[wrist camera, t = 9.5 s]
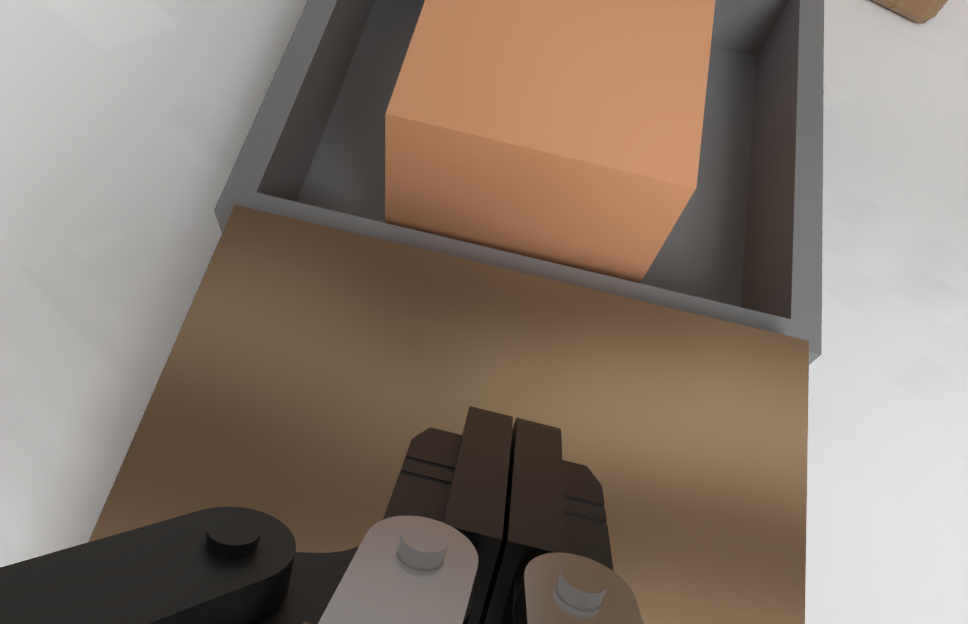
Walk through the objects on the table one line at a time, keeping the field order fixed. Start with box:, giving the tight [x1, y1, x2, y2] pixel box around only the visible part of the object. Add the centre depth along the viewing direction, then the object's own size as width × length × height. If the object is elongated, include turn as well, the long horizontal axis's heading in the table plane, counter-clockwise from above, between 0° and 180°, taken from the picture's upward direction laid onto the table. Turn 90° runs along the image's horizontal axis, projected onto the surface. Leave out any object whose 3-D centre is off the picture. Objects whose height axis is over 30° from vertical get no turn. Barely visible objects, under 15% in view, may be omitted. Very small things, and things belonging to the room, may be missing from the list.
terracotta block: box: [385, 0, 715, 283], centre depth 23 cm, size 7×7×9 cm
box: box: [214, 0, 824, 364], centre depth 25 cm, size 15×16×4 cm
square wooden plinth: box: [89, 205, 809, 624], centre depth 18 cm, size 13×14×5 cm
